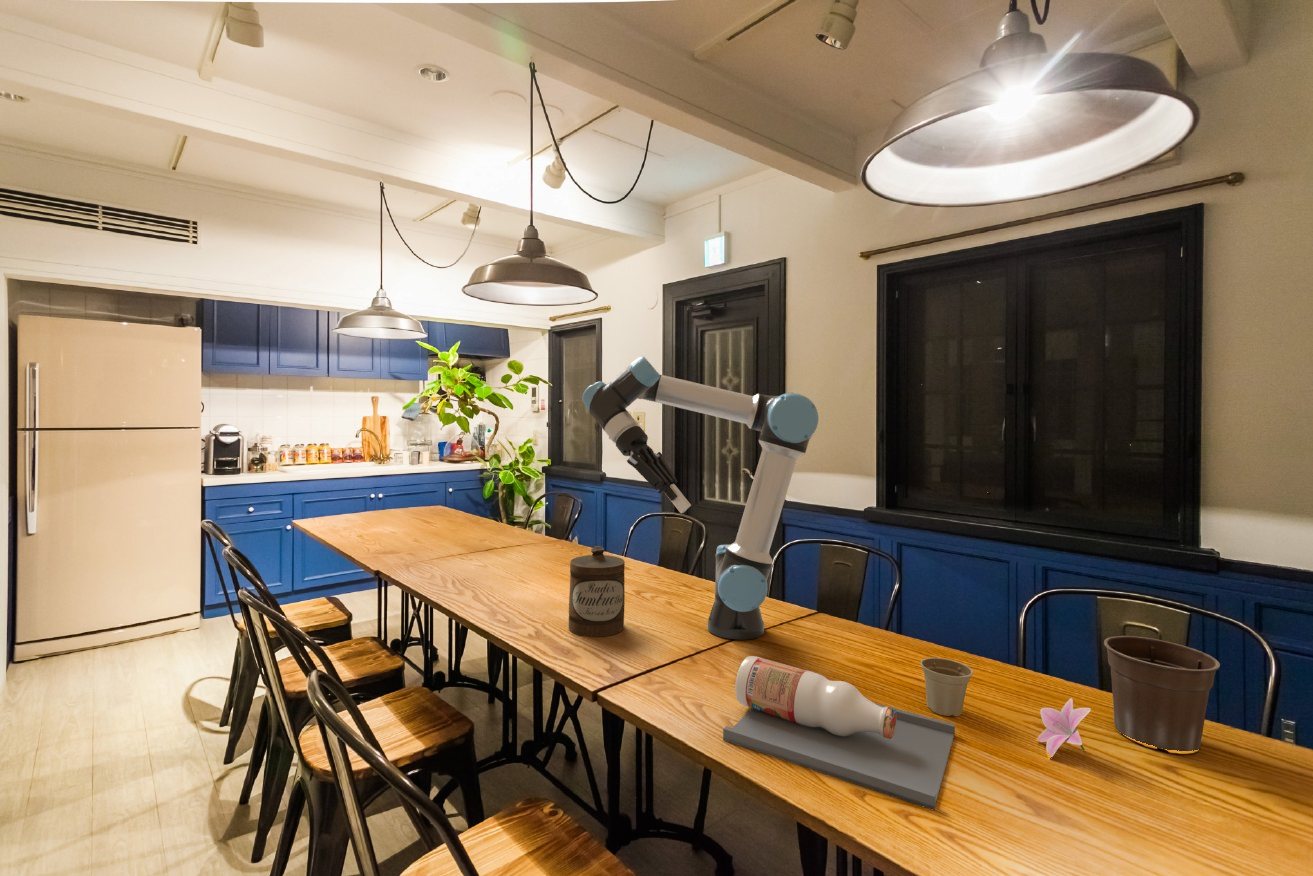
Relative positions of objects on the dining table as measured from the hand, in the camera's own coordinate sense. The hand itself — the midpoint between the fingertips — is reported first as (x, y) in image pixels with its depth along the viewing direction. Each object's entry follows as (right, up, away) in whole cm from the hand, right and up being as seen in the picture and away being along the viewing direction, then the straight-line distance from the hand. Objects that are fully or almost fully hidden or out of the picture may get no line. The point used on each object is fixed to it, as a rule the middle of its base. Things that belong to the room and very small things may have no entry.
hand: (685, 509), depth 139 cm
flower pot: (+50, -38, -19) cm, 66 cm away
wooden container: (-23, -35, +23) cm, 48 cm away
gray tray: (+26, -37, -31) cm, 55 cm away
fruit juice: (+10, -31, -20) cm, 38 cm away
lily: (+64, -39, -33) cm, 82 cm away
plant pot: (+85, -39, -28) cm, 97 cm away
